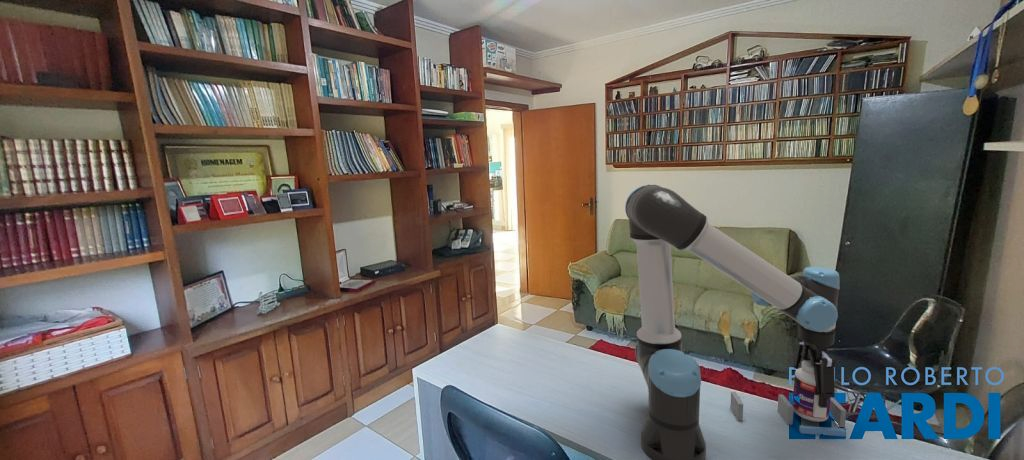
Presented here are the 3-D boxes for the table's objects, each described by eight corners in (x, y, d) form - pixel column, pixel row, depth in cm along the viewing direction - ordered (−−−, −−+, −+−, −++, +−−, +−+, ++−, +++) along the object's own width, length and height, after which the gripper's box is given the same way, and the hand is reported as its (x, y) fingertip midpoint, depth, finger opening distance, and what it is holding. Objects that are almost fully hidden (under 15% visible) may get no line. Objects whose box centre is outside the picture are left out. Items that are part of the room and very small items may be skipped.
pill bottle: (793, 419, 108) (797, 368, 106) (790, 402, 115) (793, 355, 113) (832, 427, 105) (836, 374, 102) (825, 409, 112) (830, 360, 109)
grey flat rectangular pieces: (853, 437, 103) (854, 419, 102) (742, 429, 108) (743, 411, 107) (831, 414, 112) (832, 397, 111) (730, 407, 117) (731, 391, 116)
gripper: (859, 344, 95) (850, 433, 99) (812, 312, 115) (806, 386, 119) (822, 343, 97) (815, 430, 100) (782, 311, 117) (777, 385, 120)
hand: (810, 406), depth 110 cm, fingers closed on pill bottle, 8 cm apart
